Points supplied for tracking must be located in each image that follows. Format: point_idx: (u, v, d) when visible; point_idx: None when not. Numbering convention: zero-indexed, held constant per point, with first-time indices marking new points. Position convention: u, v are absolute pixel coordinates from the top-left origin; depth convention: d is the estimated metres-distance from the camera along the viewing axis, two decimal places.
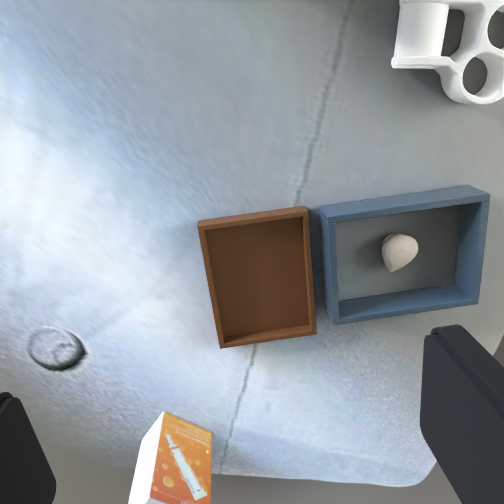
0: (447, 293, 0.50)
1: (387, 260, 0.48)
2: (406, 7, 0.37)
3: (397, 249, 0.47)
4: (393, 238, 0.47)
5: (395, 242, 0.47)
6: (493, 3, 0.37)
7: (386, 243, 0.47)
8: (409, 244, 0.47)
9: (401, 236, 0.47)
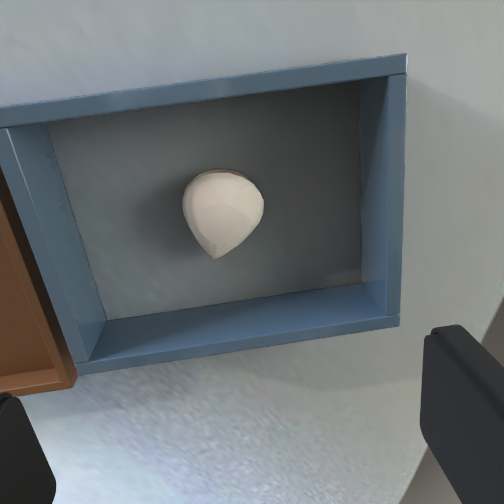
0: (340, 303, 0.24)
1: (196, 231, 0.21)
2: None
3: (208, 205, 0.20)
4: (199, 179, 0.20)
5: (203, 188, 0.20)
6: None
7: (186, 192, 0.21)
8: (235, 194, 0.20)
9: (218, 175, 0.20)
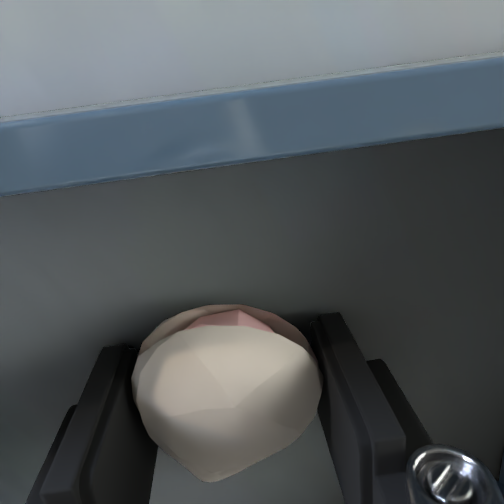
0: None
1: (164, 446, 0.09)
2: None
3: (192, 408, 0.08)
4: (171, 344, 0.08)
5: (179, 369, 0.08)
6: None
7: (139, 368, 0.08)
8: (261, 384, 0.08)
9: (216, 333, 0.08)
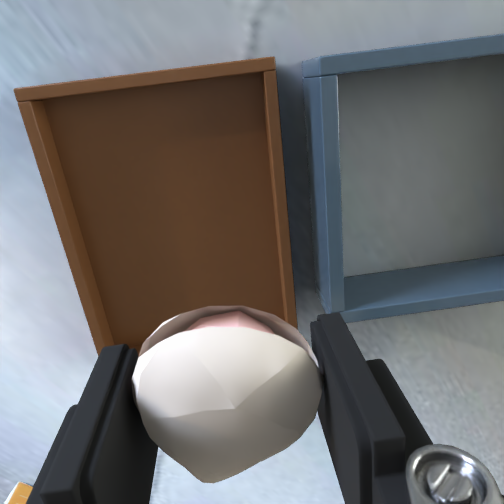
0: None
1: (165, 446, 0.09)
2: None
3: (192, 409, 0.08)
4: (171, 345, 0.08)
5: (179, 370, 0.08)
6: None
7: (139, 369, 0.08)
8: (261, 385, 0.08)
9: (217, 334, 0.08)
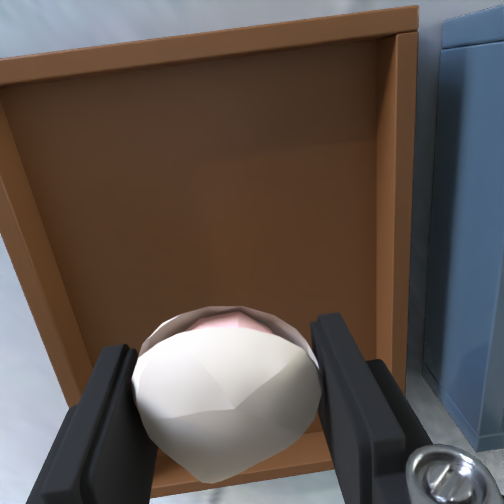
0: None
1: (164, 447, 0.09)
2: None
3: (192, 410, 0.08)
4: (170, 346, 0.08)
5: (179, 370, 0.08)
6: None
7: (139, 370, 0.08)
8: (261, 386, 0.08)
9: (216, 335, 0.08)
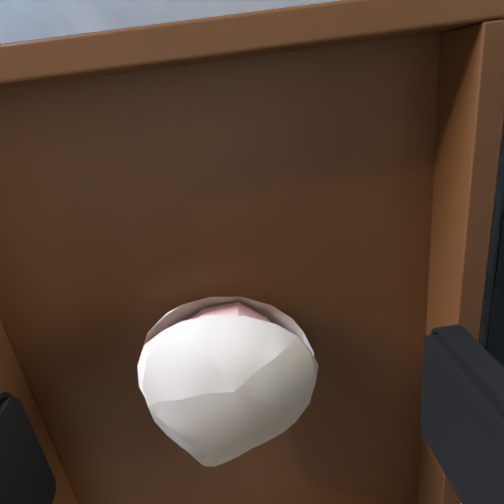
0: None
1: (168, 430, 0.10)
2: None
3: (194, 393, 0.09)
4: (174, 332, 0.09)
5: (182, 356, 0.09)
6: None
7: (145, 355, 0.09)
8: (259, 370, 0.09)
9: (217, 322, 0.09)
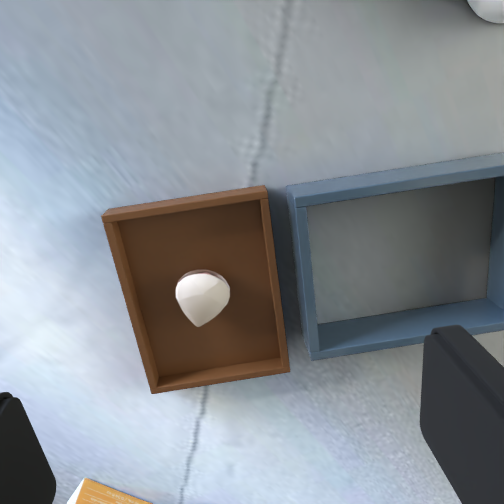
0: (477, 311, 0.34)
1: (184, 310, 0.32)
2: None
3: (192, 295, 0.31)
4: (186, 278, 0.31)
5: (188, 284, 0.31)
6: None
7: (178, 286, 0.32)
8: (210, 288, 0.31)
9: (198, 275, 0.31)
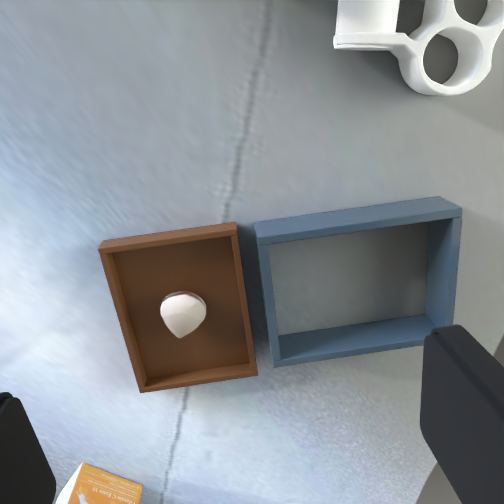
0: (415, 327, 0.41)
1: (168, 325, 0.38)
2: None
3: (174, 313, 0.37)
4: (169, 299, 0.37)
5: (171, 304, 0.37)
6: None
7: (162, 305, 0.38)
8: (189, 308, 0.37)
9: (179, 297, 0.37)
